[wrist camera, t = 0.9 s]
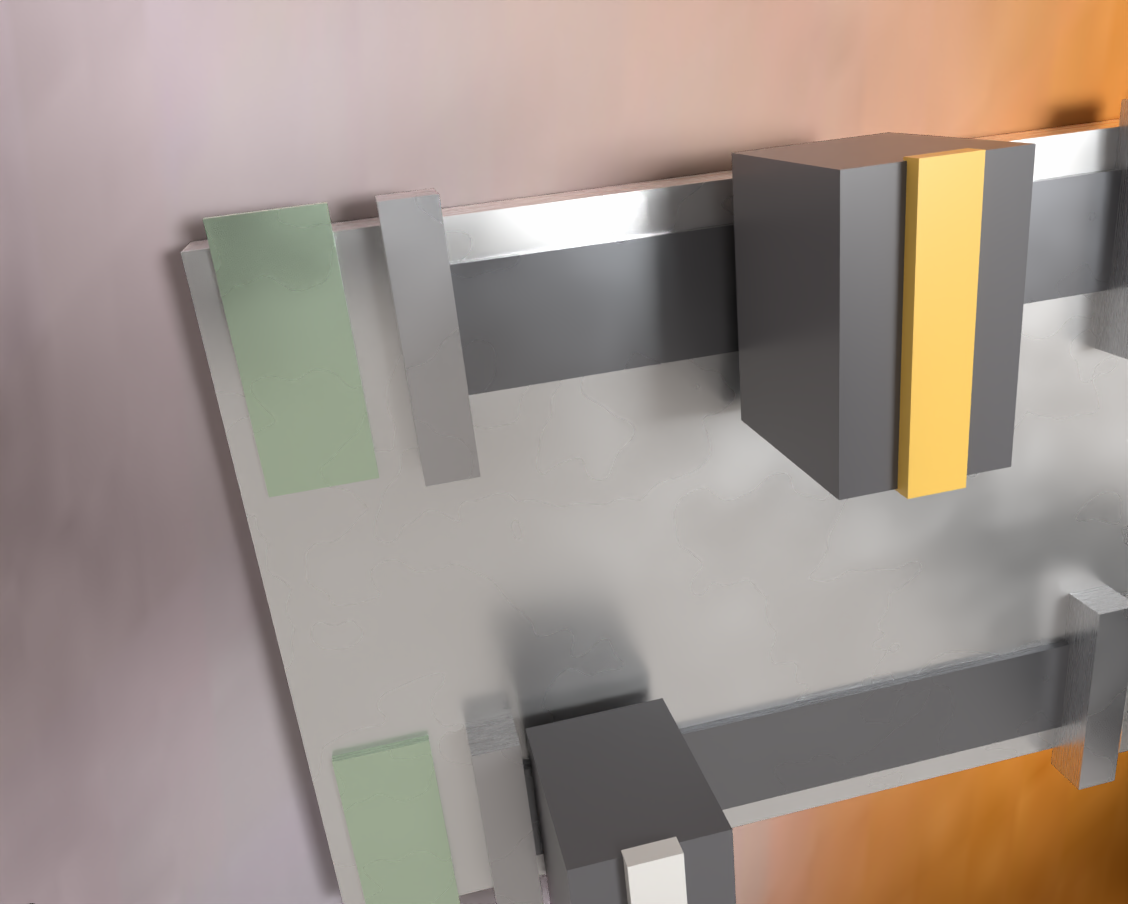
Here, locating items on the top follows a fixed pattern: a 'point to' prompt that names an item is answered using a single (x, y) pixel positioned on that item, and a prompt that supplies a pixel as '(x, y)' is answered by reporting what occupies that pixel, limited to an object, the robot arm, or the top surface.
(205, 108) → the top surface
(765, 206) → the block
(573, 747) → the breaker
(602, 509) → the panel
